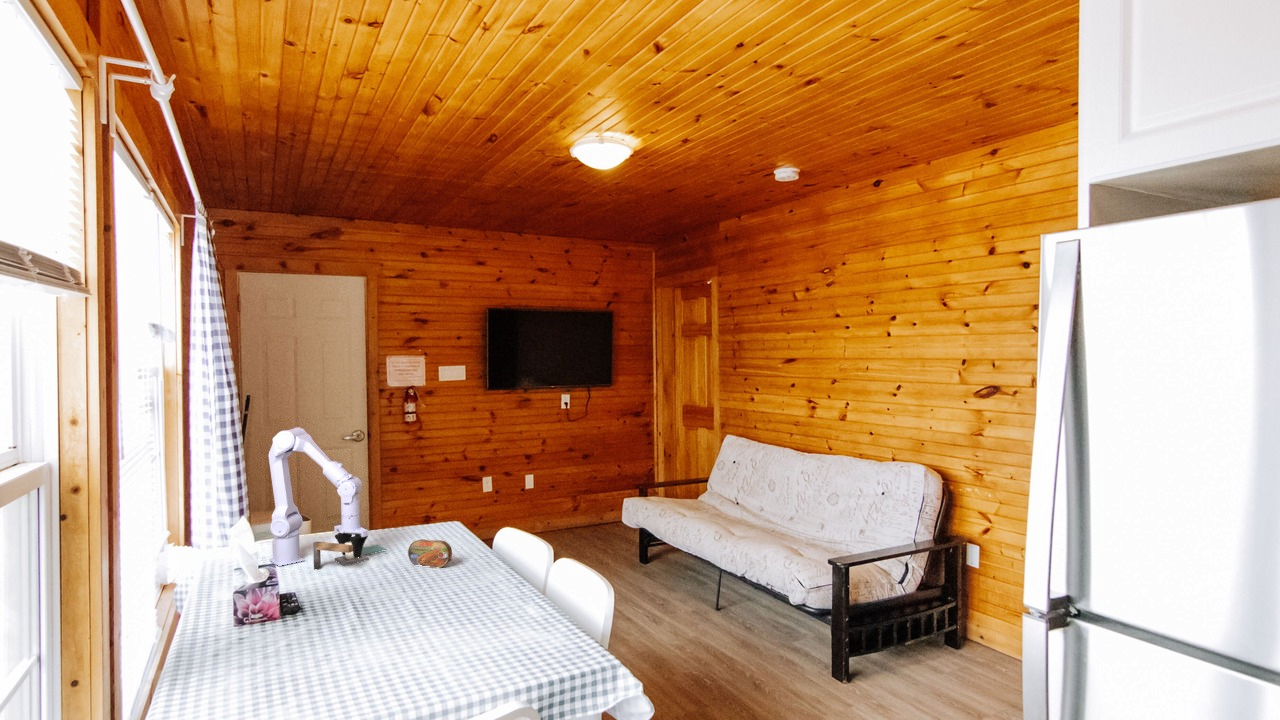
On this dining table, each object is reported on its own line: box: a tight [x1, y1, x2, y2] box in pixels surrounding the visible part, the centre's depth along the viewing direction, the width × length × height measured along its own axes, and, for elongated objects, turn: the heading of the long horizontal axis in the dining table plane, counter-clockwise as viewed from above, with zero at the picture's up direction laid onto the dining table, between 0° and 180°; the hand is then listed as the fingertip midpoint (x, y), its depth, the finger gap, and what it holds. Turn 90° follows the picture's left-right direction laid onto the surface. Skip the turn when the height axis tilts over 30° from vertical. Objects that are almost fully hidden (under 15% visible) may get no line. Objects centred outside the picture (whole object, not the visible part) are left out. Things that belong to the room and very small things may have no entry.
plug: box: [344, 541, 358, 561], centre depth 225 cm, size 4×4×6 cm
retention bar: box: [312, 541, 353, 570], centre depth 215 cm, size 14×2×8 cm, turn 72°
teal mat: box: [361, 544, 388, 556], centre depth 235 cm, size 8×8×1 cm
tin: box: [407, 539, 453, 569], centre depth 218 cm, size 15×3×8 cm, turn 73°
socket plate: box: [334, 554, 370, 567], centre depth 225 cm, size 8×8×1 cm
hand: (351, 555), depth 225 cm, fingers open, 5 cm apart
